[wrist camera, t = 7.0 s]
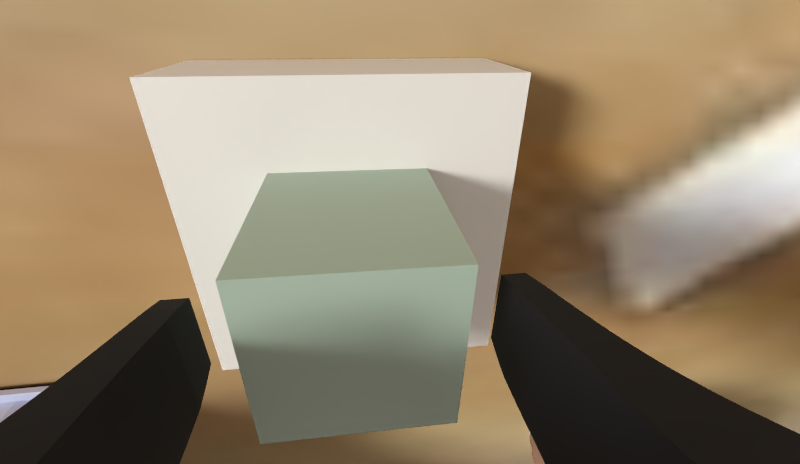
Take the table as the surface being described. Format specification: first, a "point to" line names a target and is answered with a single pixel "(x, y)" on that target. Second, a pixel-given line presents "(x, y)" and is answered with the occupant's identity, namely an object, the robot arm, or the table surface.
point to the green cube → (349, 304)
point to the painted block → (332, 147)
